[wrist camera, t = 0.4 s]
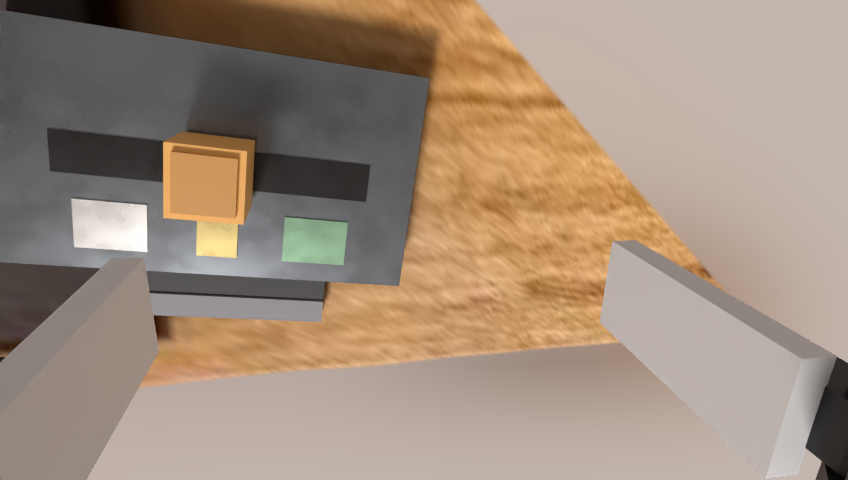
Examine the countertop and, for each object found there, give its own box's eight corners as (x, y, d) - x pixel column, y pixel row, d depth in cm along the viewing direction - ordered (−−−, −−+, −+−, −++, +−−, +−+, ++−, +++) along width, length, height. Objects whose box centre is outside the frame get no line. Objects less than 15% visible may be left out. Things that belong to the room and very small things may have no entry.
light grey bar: (114, 302, 35) (105, 313, 34) (113, 281, 35) (104, 290, 33) (320, 311, 39) (321, 321, 37) (322, 292, 38) (323, 301, 37)
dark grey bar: (113, 278, 35) (104, 288, 33) (112, 256, 34) (103, 265, 33) (322, 290, 38) (323, 299, 37) (325, 270, 38) (325, 278, 36)
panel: (25, 244, 33) (-2, 262, 30) (5, 10, 29) (-30, 5, 26) (392, 269, 39) (399, 286, 36) (420, 76, 34) (430, 78, 32)
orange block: (181, 198, 31) (161, 219, 27) (182, 131, 29) (161, 142, 25) (251, 205, 32) (242, 226, 28) (255, 140, 30) (246, 152, 26)
